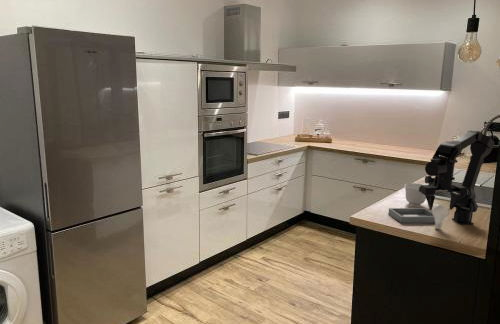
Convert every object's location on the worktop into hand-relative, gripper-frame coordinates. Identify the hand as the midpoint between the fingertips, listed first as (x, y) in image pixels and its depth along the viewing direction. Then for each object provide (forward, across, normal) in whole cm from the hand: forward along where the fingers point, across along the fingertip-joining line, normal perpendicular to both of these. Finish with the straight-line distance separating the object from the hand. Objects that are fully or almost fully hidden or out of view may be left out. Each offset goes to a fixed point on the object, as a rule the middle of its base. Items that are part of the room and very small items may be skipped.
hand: (440, 209), depth 164 cm
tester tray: (+9, +4, -13) cm, 16 cm away
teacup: (+9, -9, -32) cm, 34 cm away
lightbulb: (+9, 0, 0) cm, 9 cm away
